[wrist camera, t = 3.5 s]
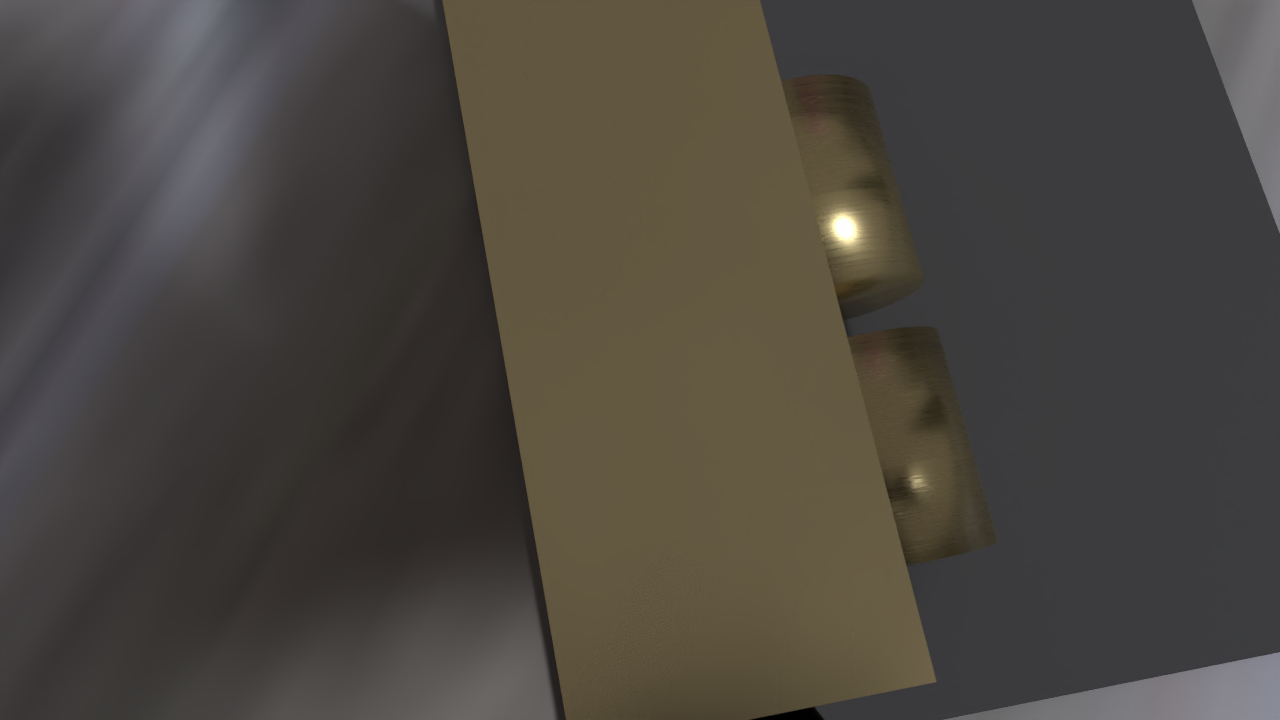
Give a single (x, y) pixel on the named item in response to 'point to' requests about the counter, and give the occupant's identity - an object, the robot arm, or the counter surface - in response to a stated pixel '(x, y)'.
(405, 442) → the counter surface
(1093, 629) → the rubber mat
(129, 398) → the counter surface
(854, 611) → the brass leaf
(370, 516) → the counter surface
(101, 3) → the counter surface
